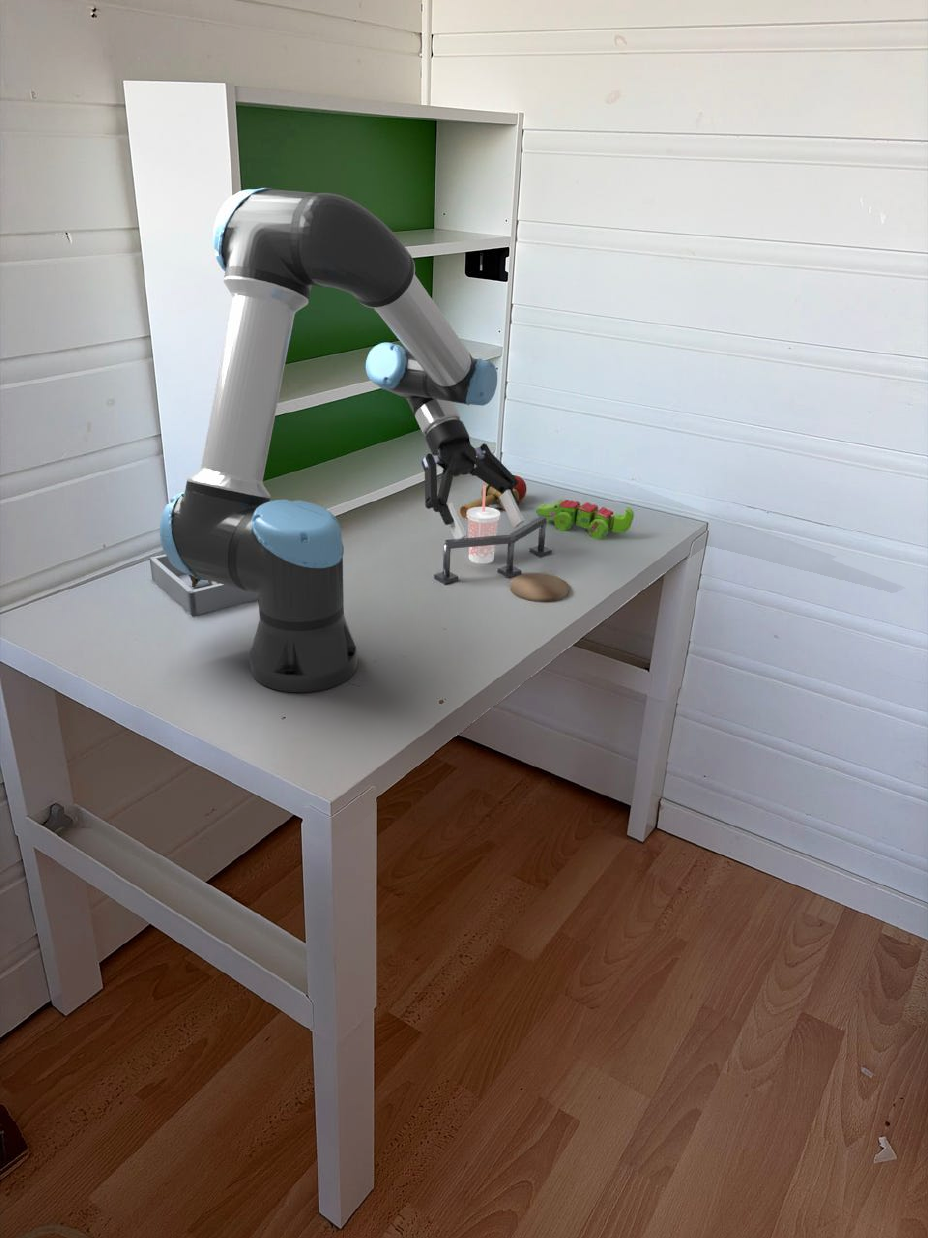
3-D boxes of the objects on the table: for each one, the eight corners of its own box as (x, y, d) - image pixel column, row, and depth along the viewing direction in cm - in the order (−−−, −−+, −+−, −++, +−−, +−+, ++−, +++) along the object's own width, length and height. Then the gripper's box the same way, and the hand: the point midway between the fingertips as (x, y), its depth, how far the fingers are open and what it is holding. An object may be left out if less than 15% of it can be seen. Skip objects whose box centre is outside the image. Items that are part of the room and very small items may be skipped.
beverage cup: (501, 554, 174) (505, 482, 168) (493, 567, 169) (497, 493, 163) (469, 550, 176) (472, 478, 169) (460, 562, 170) (463, 488, 164)
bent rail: (458, 592, 159) (459, 552, 155) (434, 578, 164) (435, 538, 160) (566, 560, 173) (570, 523, 169) (541, 548, 178) (544, 511, 174)
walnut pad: (536, 607, 155) (537, 602, 155) (498, 585, 162) (498, 581, 162) (580, 592, 160) (581, 588, 160) (541, 572, 167) (541, 568, 167)
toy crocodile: (531, 524, 189) (533, 496, 186) (545, 515, 194) (547, 487, 192) (624, 545, 181) (627, 515, 178) (635, 534, 186) (639, 505, 184)
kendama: (483, 531, 189) (537, 498, 200) (477, 501, 186) (533, 470, 197) (455, 527, 194) (510, 495, 205) (449, 498, 191) (505, 468, 202)
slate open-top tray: (192, 616, 148) (189, 593, 146) (152, 579, 159) (149, 557, 157) (270, 595, 155) (269, 573, 153) (227, 562, 167) (225, 541, 165)
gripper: (485, 429, 182) (532, 527, 178) (378, 448, 168) (426, 554, 164) (504, 408, 176) (553, 509, 172) (394, 426, 162) (444, 536, 158)
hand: (491, 531), depth 168 cm, fingers open, 12 cm apart
